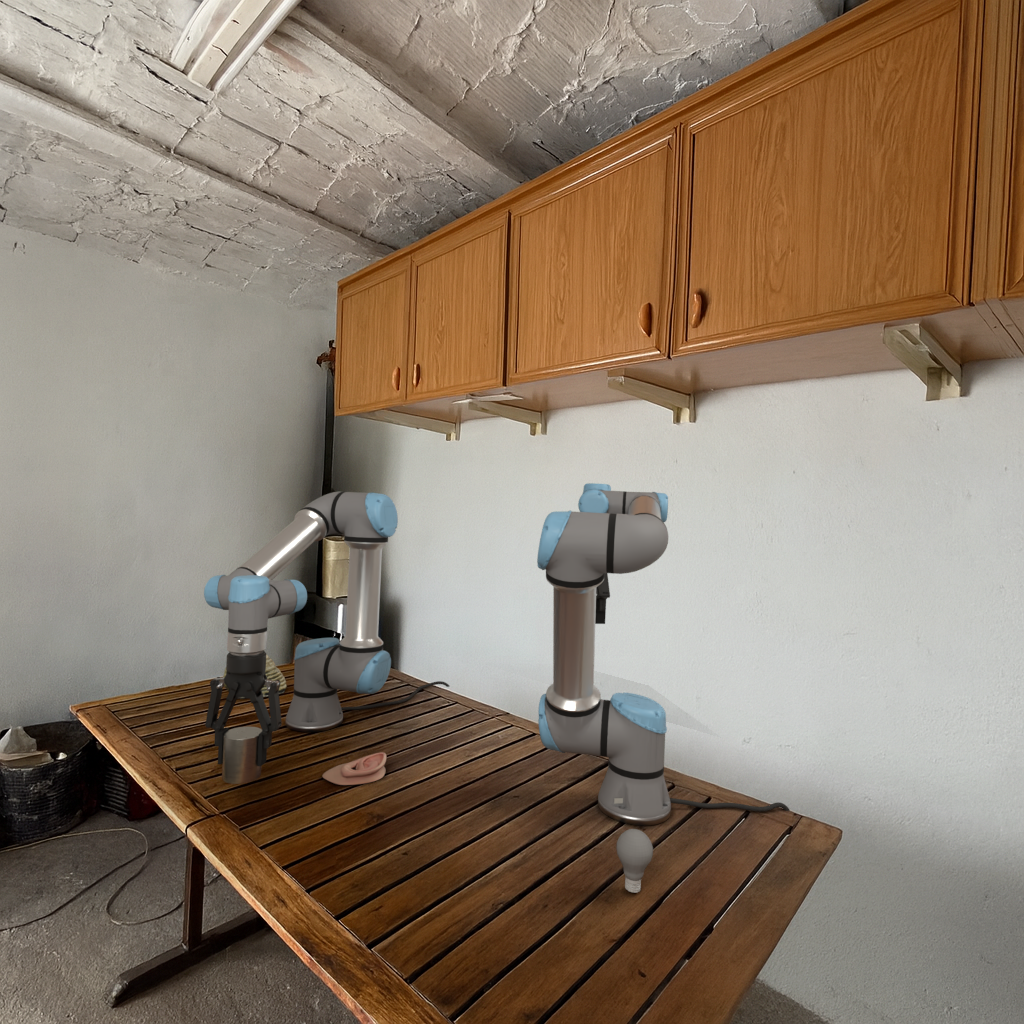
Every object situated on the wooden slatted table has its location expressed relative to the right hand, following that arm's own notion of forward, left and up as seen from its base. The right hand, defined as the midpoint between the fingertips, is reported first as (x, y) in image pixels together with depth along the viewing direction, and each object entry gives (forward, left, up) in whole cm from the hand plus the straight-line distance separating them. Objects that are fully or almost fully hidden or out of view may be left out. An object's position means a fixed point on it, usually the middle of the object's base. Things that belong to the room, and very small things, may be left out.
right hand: (591, 618), depth 172 cm
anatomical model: (+60, +16, -33) cm, 71 cm away
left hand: (+83, +26, -25) cm, 90 cm away
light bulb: (+13, +65, -33) cm, 75 cm away
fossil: (+94, -46, -33) cm, 109 cm away
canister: (+83, +26, -28) cm, 91 cm away
